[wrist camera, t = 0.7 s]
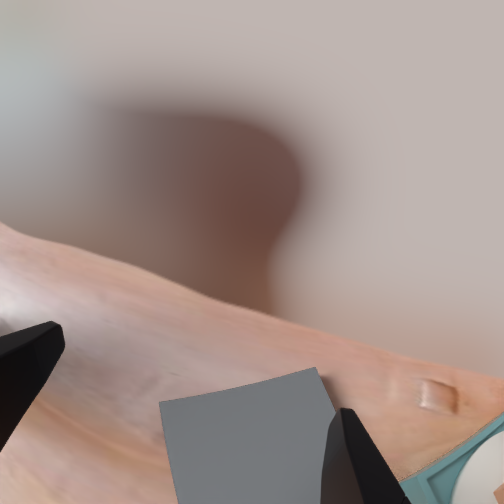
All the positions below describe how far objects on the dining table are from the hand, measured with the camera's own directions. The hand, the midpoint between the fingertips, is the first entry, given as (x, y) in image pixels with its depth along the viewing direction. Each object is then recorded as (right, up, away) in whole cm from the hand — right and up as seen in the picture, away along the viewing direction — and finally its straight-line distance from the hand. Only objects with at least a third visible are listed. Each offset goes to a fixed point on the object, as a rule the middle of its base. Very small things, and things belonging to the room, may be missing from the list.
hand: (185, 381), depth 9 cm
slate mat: (+3, -11, +10) cm, 15 cm away
